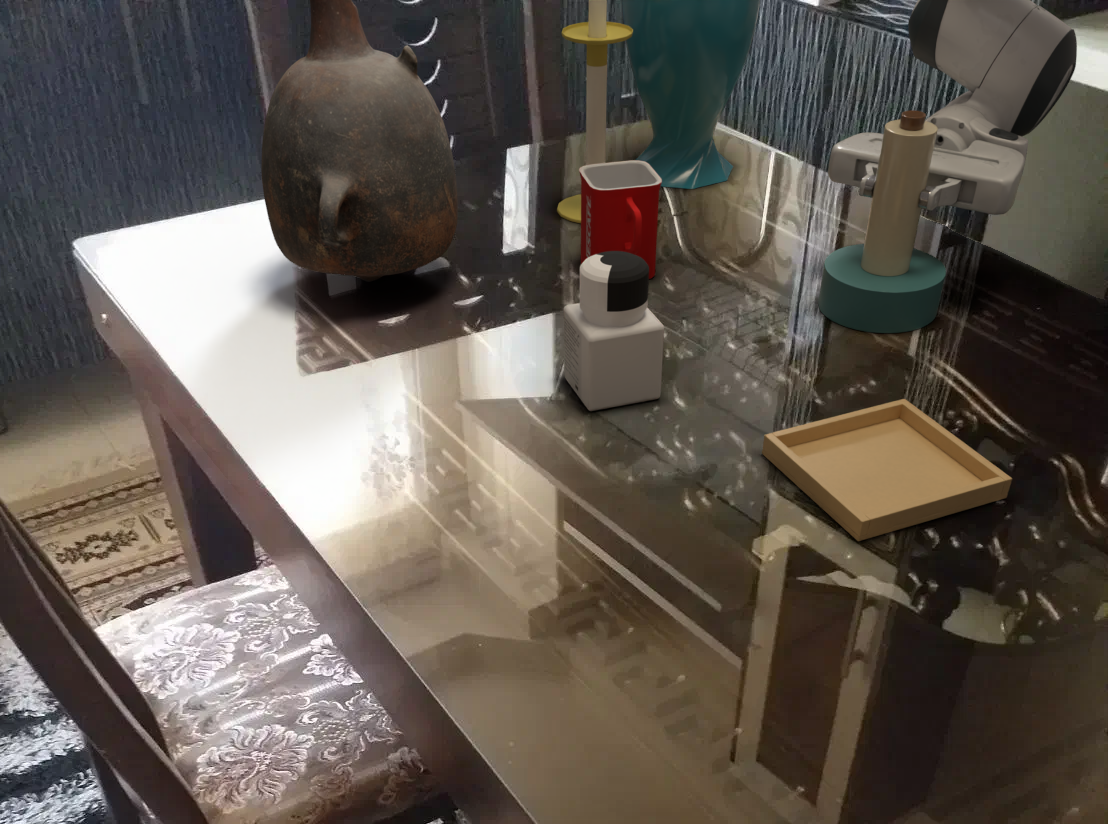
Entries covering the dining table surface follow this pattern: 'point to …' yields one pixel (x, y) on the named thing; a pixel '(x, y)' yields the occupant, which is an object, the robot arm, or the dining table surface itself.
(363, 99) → the jug
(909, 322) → the stand
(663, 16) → the vase
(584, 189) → the mug
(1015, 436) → the dining table surface
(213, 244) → the dining table surface
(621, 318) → the container
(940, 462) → the tray
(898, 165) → the canister
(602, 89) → the candle
